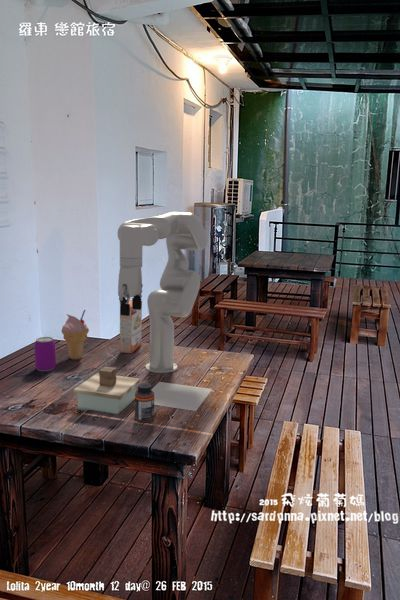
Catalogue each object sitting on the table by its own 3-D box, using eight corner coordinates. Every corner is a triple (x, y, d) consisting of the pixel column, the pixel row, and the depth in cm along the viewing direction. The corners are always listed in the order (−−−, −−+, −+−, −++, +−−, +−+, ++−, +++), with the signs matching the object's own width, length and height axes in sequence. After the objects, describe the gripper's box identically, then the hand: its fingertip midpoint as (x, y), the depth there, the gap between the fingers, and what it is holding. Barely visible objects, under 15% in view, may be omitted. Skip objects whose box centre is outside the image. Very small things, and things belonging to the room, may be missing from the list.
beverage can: (52, 372, 201) (51, 342, 198) (32, 371, 201) (31, 341, 198) (58, 365, 208) (57, 336, 206) (39, 365, 208) (38, 336, 206)
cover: (97, 376, 181) (97, 359, 180) (140, 382, 176) (140, 364, 175) (73, 392, 166) (73, 374, 165) (120, 399, 161) (119, 380, 160)
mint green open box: (98, 394, 181) (98, 377, 180) (136, 399, 177) (136, 382, 176) (78, 409, 168) (77, 392, 166) (118, 416, 164) (118, 398, 163)
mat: (159, 383, 192) (159, 381, 192) (212, 390, 187) (212, 389, 187) (138, 403, 174) (138, 402, 173) (195, 412, 168) (195, 410, 168)
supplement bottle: (135, 415, 165) (135, 381, 162) (154, 415, 165) (154, 381, 163) (134, 424, 159) (134, 388, 156) (154, 423, 159) (154, 388, 157)
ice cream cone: (75, 352, 226) (74, 306, 221) (94, 356, 220) (94, 310, 216) (56, 358, 216) (55, 311, 212) (76, 363, 211) (75, 315, 207)
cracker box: (132, 354, 225) (132, 306, 221) (119, 352, 227) (118, 305, 222) (142, 345, 239) (142, 300, 235) (129, 343, 240) (129, 299, 236)
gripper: (131, 258, 185) (131, 306, 188) (109, 265, 168) (109, 316, 172) (151, 260, 183) (150, 308, 186) (130, 266, 166) (130, 319, 170)
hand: (131, 312), depth 179 cm, fingers open, 9 cm apart
